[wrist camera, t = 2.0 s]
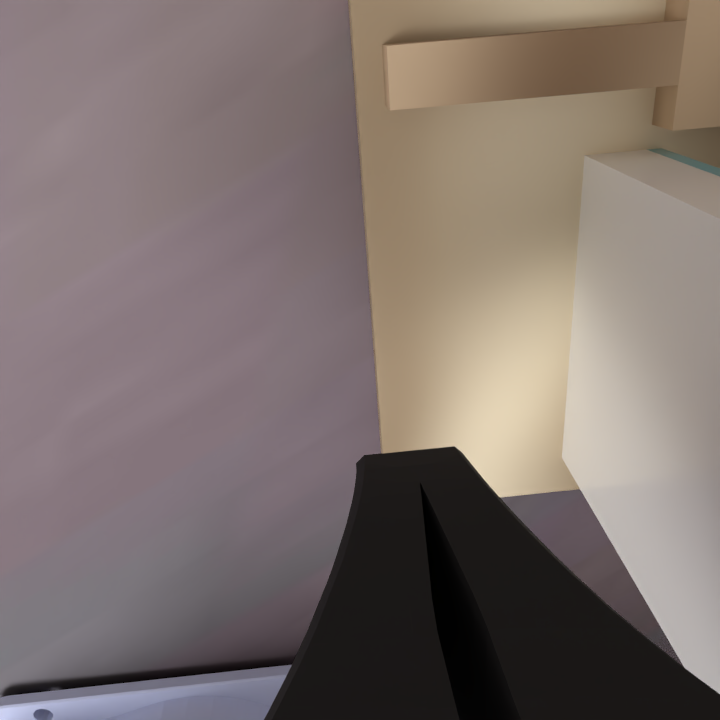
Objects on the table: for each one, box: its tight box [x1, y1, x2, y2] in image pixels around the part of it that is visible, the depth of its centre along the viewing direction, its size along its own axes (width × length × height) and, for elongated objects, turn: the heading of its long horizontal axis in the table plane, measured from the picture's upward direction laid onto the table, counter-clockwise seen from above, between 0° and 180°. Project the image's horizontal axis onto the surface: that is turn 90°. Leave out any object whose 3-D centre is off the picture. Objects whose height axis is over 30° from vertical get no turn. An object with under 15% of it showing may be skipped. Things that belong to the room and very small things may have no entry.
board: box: [348, 0, 720, 497], centre depth 14 cm, size 13×11×1 cm
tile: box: [562, 148, 720, 694], centre depth 11 cm, size 2×7×7 cm, turn 5°
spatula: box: [382, 0, 720, 131], centre depth 12 cm, size 11×2×1 cm, turn 94°
